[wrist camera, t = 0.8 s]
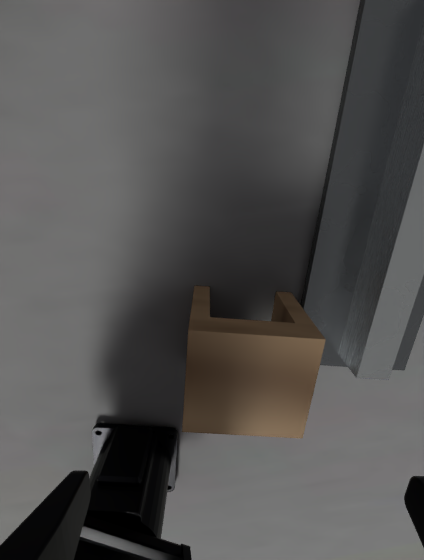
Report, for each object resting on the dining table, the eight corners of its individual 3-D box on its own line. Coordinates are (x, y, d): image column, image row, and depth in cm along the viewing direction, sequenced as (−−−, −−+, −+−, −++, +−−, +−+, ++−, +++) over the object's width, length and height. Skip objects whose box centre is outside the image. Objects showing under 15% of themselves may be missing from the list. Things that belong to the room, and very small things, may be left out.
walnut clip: (277, 368, 21) (302, 438, 15) (189, 363, 21) (182, 432, 15) (291, 292, 19) (325, 339, 13) (194, 285, 19) (188, 330, 13)
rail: (399, 365, 21) (431, 396, 18) (290, 358, 21) (304, 388, 18) (530, -23, 14) (621, -80, 11) (368, -41, 14) (414, -105, 11)
